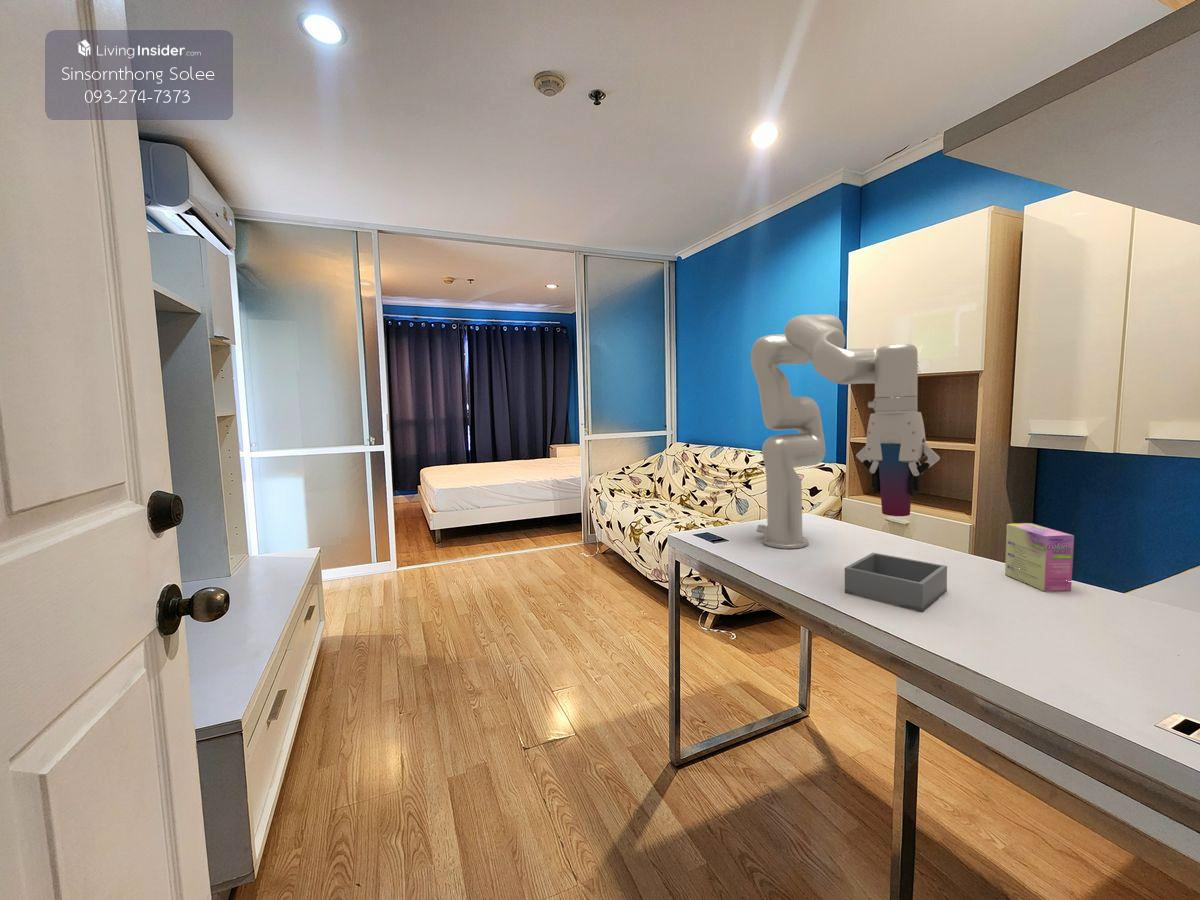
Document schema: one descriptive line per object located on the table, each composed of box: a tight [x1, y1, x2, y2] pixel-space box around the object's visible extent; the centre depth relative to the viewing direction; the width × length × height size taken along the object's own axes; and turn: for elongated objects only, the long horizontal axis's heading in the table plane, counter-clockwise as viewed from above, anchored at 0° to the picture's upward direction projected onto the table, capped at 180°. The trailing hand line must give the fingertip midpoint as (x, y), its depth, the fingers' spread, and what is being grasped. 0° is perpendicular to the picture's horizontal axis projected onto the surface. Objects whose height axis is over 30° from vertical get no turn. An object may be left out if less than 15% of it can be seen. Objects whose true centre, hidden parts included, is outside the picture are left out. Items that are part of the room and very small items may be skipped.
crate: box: [844, 552, 948, 613], centre depth 106 cm, size 15×15×6 cm
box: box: [1004, 522, 1075, 592], centre depth 107 cm, size 10×6×12 cm, turn 179°
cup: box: [878, 443, 912, 517], centre depth 104 cm, size 7×7×15 cm
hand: (895, 492), depth 104 cm, fingers closed on cup, 6 cm apart
